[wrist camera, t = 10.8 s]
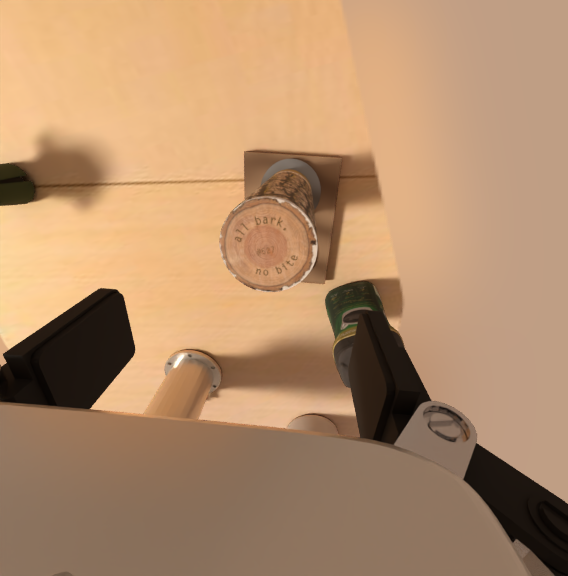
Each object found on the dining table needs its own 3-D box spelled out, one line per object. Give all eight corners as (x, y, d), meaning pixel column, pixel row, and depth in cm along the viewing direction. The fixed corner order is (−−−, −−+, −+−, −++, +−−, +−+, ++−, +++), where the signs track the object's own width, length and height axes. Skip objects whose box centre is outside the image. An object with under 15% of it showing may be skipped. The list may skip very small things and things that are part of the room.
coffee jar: (331, 323, 54) (343, 402, 37) (320, 289, 51) (327, 358, 34) (382, 311, 52) (418, 389, 35) (374, 274, 49) (409, 341, 32)
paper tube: (261, 173, 40) (206, 207, 18) (308, 164, 39) (310, 187, 17) (271, 220, 43) (234, 297, 21) (314, 212, 42) (323, 285, 20)
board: (324, 280, 50) (325, 286, 48) (246, 274, 50) (244, 279, 48) (341, 157, 41) (342, 158, 39) (246, 151, 41) (243, 151, 39)
